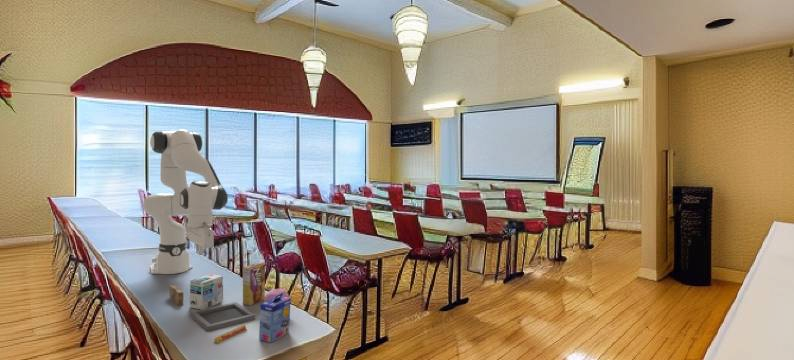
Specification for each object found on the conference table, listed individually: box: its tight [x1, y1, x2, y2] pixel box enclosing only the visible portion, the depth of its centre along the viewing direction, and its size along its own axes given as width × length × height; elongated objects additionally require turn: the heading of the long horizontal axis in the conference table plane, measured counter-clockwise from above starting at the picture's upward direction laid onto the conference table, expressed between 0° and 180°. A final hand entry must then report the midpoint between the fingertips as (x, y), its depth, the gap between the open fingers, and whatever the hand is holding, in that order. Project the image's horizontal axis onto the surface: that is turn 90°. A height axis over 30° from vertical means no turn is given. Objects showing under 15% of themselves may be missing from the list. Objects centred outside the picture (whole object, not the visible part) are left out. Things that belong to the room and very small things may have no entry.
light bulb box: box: [189, 273, 224, 310], centre depth 163 cm, size 11×7×11 cm, turn 160°
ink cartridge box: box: [258, 293, 292, 344], centre depth 137 cm, size 10×6×14 cm, turn 159°
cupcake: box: [263, 288, 290, 302], centre depth 155 cm, size 9×9×10 cm
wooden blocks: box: [169, 284, 224, 306], centre depth 171 cm, size 12×17×5 cm
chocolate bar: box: [213, 324, 248, 344], centre depth 136 cm, size 3×12×2 cm, turn 154°
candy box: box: [242, 262, 266, 306], centre depth 168 cm, size 9×4×15 cm, turn 158°
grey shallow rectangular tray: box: [190, 301, 257, 332], centre depth 151 cm, size 17×17×2 cm
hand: (200, 254), depth 168 cm, fingers closed
